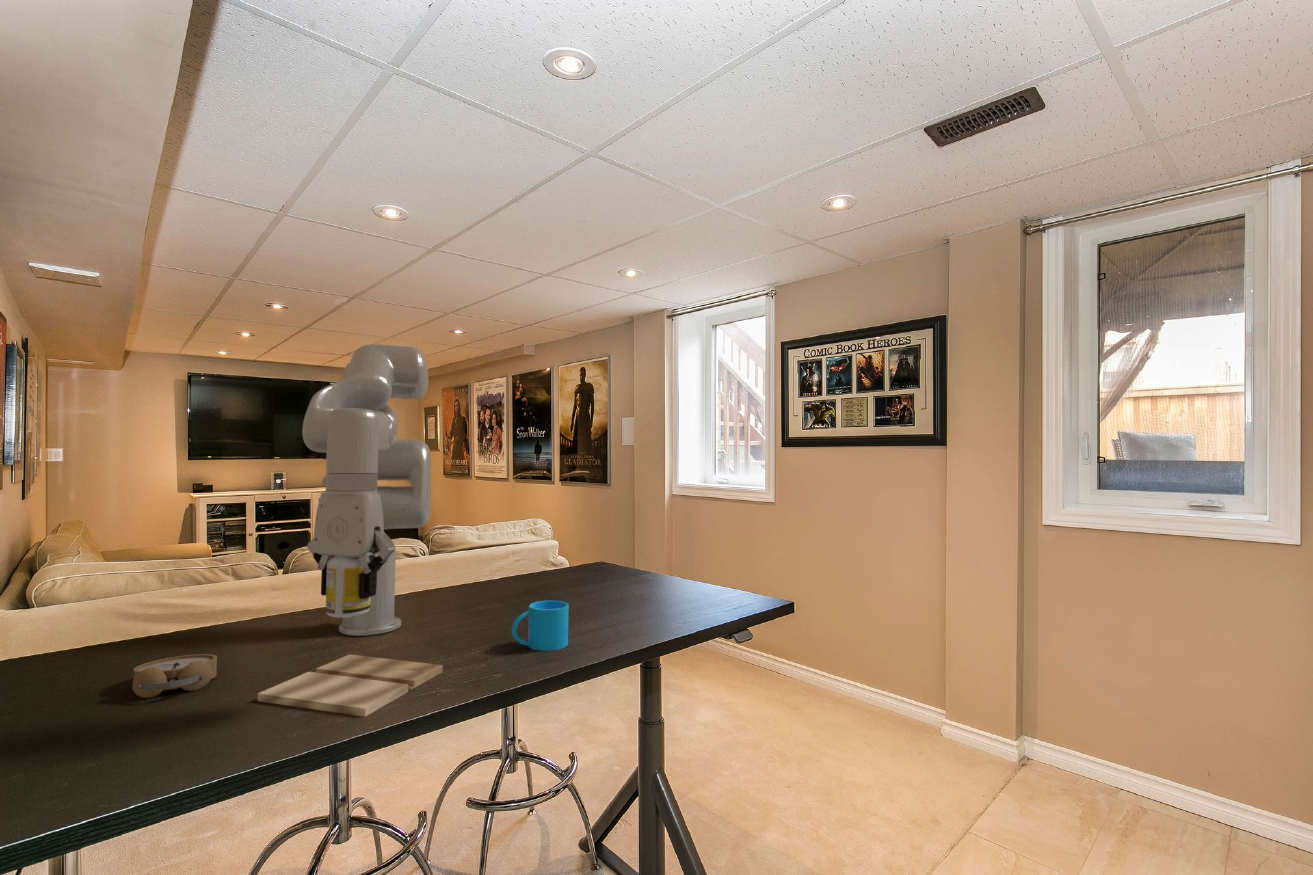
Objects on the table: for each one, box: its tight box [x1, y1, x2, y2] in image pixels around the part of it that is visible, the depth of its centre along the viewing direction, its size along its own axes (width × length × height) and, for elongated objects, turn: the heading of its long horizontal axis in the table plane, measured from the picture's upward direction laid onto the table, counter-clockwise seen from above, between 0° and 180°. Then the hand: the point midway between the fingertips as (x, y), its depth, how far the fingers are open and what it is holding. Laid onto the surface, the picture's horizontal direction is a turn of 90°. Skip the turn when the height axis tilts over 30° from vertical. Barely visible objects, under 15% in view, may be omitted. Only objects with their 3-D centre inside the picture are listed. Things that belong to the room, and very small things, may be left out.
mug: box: [511, 600, 570, 652], centre depth 126 cm, size 12×8×8 cm
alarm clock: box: [131, 653, 218, 699], centre depth 102 cm, size 11×5×15 cm
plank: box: [257, 671, 409, 717], centre depth 99 cm, size 20×10×1 cm, turn 75°
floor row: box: [315, 653, 444, 691], centre depth 108 cm, size 20×9×1 cm, turn 75°
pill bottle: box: [325, 556, 371, 618], centre depth 99 cm, size 6×6×12 cm
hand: (348, 594), depth 99 cm, fingers closed on pill bottle, 6 cm apart
